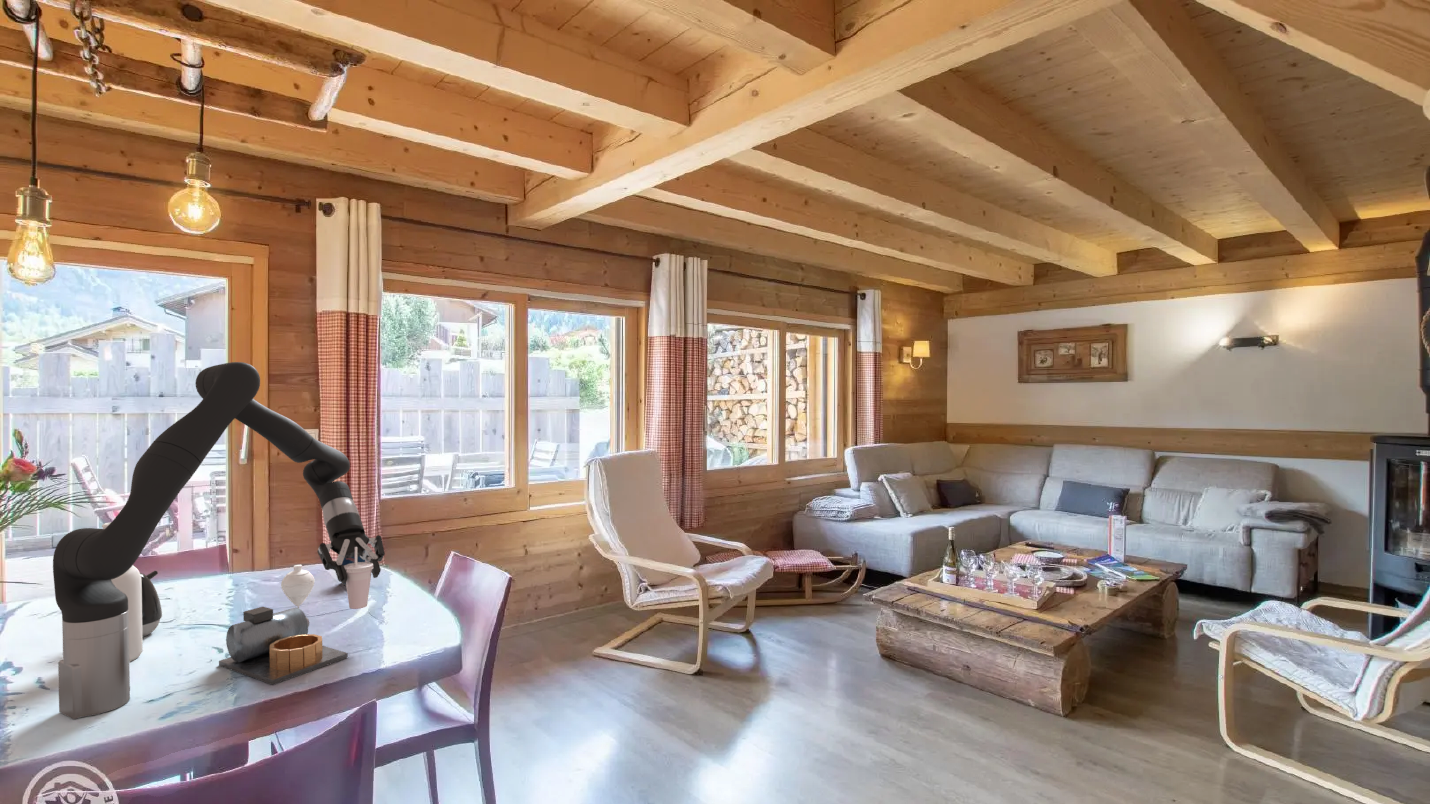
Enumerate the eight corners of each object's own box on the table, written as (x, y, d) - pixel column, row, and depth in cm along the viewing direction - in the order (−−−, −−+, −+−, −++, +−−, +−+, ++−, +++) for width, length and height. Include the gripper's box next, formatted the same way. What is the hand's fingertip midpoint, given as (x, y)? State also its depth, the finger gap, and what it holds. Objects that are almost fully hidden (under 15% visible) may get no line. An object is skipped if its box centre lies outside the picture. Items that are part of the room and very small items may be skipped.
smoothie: (336, 608, 161) (336, 547, 161) (362, 600, 167) (361, 542, 166) (354, 612, 158) (354, 551, 158) (379, 604, 164) (379, 545, 163)
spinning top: (274, 613, 183) (273, 567, 183) (298, 604, 190) (297, 560, 190) (298, 615, 181) (297, 569, 181) (321, 606, 189) (321, 562, 188)
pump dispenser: (173, 630, 170) (172, 568, 170) (127, 645, 160) (126, 580, 160) (142, 626, 173) (141, 565, 173) (95, 641, 163) (94, 576, 163)
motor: (272, 684, 139) (272, 631, 139) (218, 665, 149) (218, 615, 149) (349, 656, 154) (349, 608, 154) (296, 640, 163) (295, 595, 163)
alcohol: (100, 670, 146) (97, 528, 145) (82, 662, 150) (79, 524, 150) (150, 656, 154) (148, 521, 153) (131, 649, 158) (129, 517, 157)
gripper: (313, 514, 162) (331, 575, 154) (377, 507, 172) (397, 563, 164) (306, 534, 165) (323, 594, 158) (369, 526, 176) (388, 581, 168)
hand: (361, 578), depth 161 cm, fingers closed on smoothie, 6 cm apart
